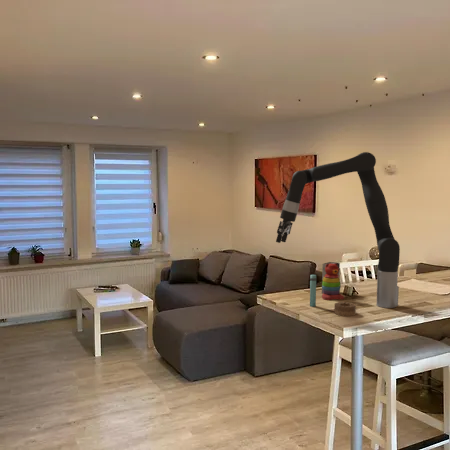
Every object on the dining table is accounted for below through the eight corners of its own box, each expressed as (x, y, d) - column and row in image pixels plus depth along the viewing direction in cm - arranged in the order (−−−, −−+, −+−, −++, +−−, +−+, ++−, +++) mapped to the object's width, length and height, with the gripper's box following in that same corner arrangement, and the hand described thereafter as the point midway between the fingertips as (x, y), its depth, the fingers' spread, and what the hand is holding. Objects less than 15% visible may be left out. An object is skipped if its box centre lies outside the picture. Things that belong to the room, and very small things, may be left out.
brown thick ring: (345, 309, 222) (345, 301, 222) (359, 314, 214) (359, 305, 214) (330, 312, 218) (330, 303, 218) (344, 317, 210) (344, 308, 210)
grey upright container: (332, 295, 251) (333, 264, 250) (321, 293, 255) (321, 263, 254) (339, 291, 258) (340, 262, 257) (328, 290, 262) (329, 261, 261)
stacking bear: (325, 300, 239) (326, 265, 238) (317, 295, 249) (318, 262, 248) (345, 299, 242) (346, 264, 240) (336, 294, 251) (337, 261, 250)
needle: (313, 304, 231) (313, 274, 229) (317, 306, 228) (317, 275, 227) (308, 305, 229) (309, 275, 228) (312, 307, 227) (312, 276, 225)
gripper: (293, 212, 224) (283, 245, 226) (300, 213, 237) (291, 244, 239) (278, 208, 227) (269, 240, 229) (287, 208, 240) (278, 239, 242)
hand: (280, 242), depth 234 cm, fingers open, 8 cm apart
